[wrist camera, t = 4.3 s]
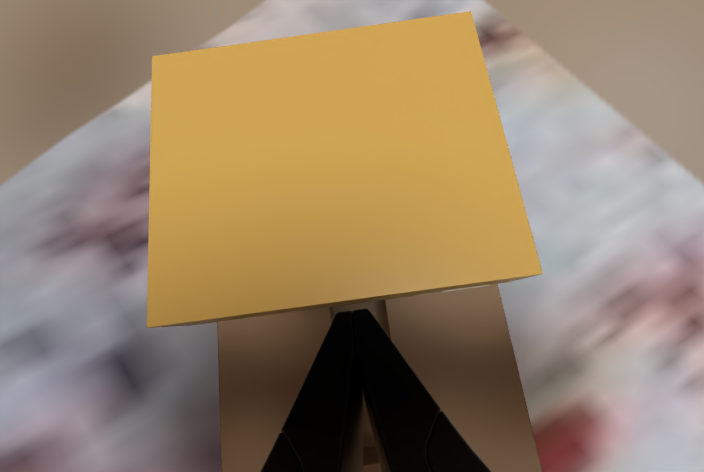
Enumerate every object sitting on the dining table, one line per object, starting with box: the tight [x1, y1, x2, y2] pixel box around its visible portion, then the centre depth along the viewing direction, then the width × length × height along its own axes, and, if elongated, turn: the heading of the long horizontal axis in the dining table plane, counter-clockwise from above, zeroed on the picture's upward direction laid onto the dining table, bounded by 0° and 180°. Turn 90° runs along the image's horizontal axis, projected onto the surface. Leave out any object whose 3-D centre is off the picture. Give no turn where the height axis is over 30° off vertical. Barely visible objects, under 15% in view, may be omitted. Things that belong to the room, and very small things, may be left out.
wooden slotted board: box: [217, 284, 542, 472], centre depth 16 cm, size 22×12×3 cm, turn 8°
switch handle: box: [147, 11, 543, 328], centre depth 10 cm, size 5×6×11 cm
